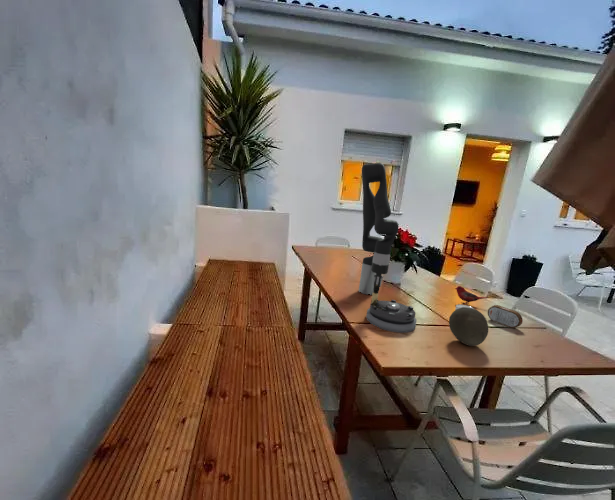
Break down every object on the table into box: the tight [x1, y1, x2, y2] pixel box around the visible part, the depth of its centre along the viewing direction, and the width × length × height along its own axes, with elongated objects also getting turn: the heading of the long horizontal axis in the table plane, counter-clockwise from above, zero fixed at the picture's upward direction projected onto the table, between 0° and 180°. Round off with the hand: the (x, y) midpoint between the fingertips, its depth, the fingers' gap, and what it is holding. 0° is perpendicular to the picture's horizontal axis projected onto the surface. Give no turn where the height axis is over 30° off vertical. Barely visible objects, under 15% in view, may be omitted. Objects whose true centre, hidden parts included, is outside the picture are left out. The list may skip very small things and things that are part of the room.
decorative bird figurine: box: [454, 285, 489, 305], centre depth 176 cm, size 3×18×10 cm, turn 71°
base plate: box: [365, 307, 417, 333], centre depth 141 cm, size 22×22×3 cm
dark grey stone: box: [448, 307, 489, 347], centre depth 125 cm, size 14×14×15 cm
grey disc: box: [369, 292, 416, 324], centre depth 140 cm, size 20×20×9 cm
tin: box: [487, 304, 524, 329], centre depth 152 cm, size 15×3×8 cm, turn 36°
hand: (375, 297), depth 146 cm, fingers closed
